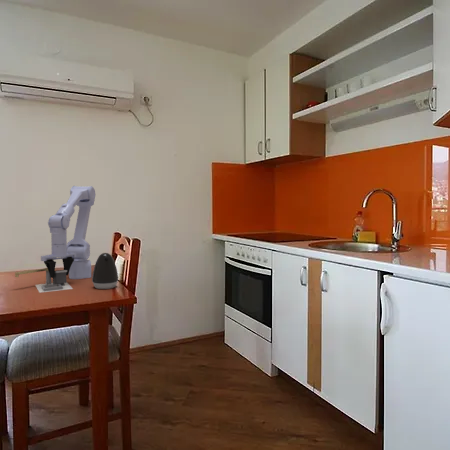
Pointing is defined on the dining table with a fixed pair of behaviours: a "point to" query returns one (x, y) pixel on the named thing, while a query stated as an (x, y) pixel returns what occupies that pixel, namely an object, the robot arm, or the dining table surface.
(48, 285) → the lever mounting base
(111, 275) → the black rounded cone
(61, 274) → the plug
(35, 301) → the dining table surface
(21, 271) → the lever handle
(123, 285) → the dining table surface
